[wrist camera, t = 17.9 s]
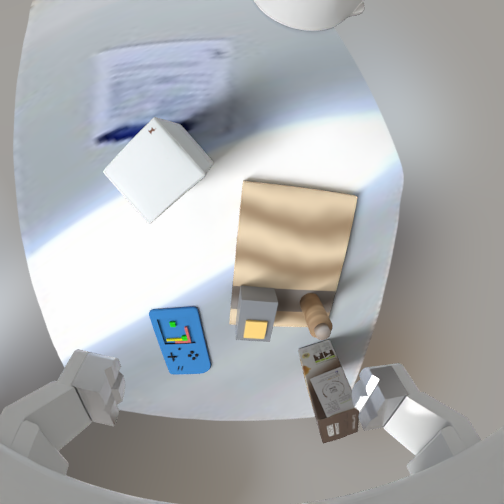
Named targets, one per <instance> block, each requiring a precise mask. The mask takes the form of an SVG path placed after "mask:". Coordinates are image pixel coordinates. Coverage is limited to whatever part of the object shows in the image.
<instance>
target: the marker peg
mask: <svg viewBox="0 0 504 504" xmlns="http://www.w3.org/2000/svg"><path fill="white" fill-rule="evenodd" d="M299 304H300V307H301V310H302V312H303V315H304V318H305V320H306V323H307V326H308V328H309V331H310V334H311V335H312V336H313V337H316V338H318V339H319V340H325V339H327V338H328V337H329V336H330V334H331V330H332V323H331V321H330V319H329V317H328V315H327V313H326V311H325V309H324V307H323V305H322V303H321V301H320V299H319V297H318V295H316V294H315V293H307V294H305V295H304V296H302V298H301V299H300V302H299Z"/></svg>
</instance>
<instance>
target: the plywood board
mask: <svg viewBox="0 0 504 504" xmlns="http://www.w3.org/2000/svg"><path fill="white" fill-rule="evenodd" d="M356 203H357V196H355V195H350V194H344V193H337V192H331V191H324V190H317V189H310V188H303V187H295V186H287V185H279V184H270V183H260V182H251V181H243V186H242V196H241V206H240V215H239V225H238V235H237V246H236V256H235V267H234V277H233V287H232V298H231V311H230V324H234V325H236V316H237V308H238V301H239V293H240V286H241V285H242V286H254V287H266V288H274V289H275V293H276V296H277V300H278V306H277V311H276V315H275V320H274V325H273V326H281V327H308V326H307V323H306V320H305V318H304V315H303V312H302V310H301V307H300V304H299V302H300V299H301V298H302V296H304V295H305V294H307V293H315V294H316V295H318V297H319V299H320V301H321V303H322V305H323V307H324V309H325V311H326V313H327V315H328V317H329V314H330V311H331V308H332V304H333V301H334V297H335V294H336V289H337V286H338V282H339V278H340V274H341V270H342V266H343V262H344V258H345V254H346V250H347V245H348V241H349V237H350V232H351V227H352V223H353V218H354V213H355V208H356Z"/></svg>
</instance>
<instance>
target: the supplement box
mask: <svg viewBox="0 0 504 504" xmlns="http://www.w3.org/2000/svg"><path fill="white" fill-rule="evenodd" d="M212 165H213V161H212V160H211V158H210V157H209V156H208V155H207V154H206V152H205V151H204V150H203V149H202V148H201V147H200V146H199V144H198V143H197V142H196V141H195V140H194V139H193V138H192V137H191V135H190V134H189V133H188V132H187V131H186V130H185V129H184V128H183V127H182V126H181V124H178V123H174V122H171V121H167V120H164V119H160V118H156V117H154V118H153V119H152V120H151V121H150V122H149V123H148V124H147V125H146V126H145V127H144V128H143V129H142V130H141V131H140V132H139V133H138V134H137V135H136V136H135V137H134V138H133V139H132V140H131V141H130V142H129V143H128V144H127V145H126V146H125V148H124V149H123V150H122V151H121V152H120V153H119V154H118V155H117V156H116V157H115V158H114V159H113V160H112V162H111V163H110V164H109V165H108V166H107V167H106V168H105V170H104V171H103V173H104V174H105V175H106V176H107V177H108V178H109V180H110V181H111V182H112V183H113V184H114V185H115V187H116V188H117V189H118V190H119V191H120V192H121V193H122V195H123V196H124V197H125V198H126V199H127V200H128V201H129V202H130V203H131V205H132V206H133V207H134V208H135V209H136V210H137V211H138V212H139V213H140V214H141V216H142V217H143V218H144V219H145V220H146V221H147V222H148V223H149V224H151V223H152V222H153V221H154V220H155V219H156V218H157V217H158V216H160V215H161V214H162V213H163V212H164V211H165V210H166V209H168V208H169V207H170V206H171V205H172V204H173V203H174V202H176V201H177V200H178V199H179V198H180V197H181V196H183V195H184V194H185V193H186V192H187V191H188V190H190V189H191V188H192V187H193V186H194V185H196V184H197V183H198V182H199V181H200V180H202V179H203V178H204V177H205V176H206V173H207V172H208V170H209V169H210V168H211V166H212Z"/></svg>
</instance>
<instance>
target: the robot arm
mask: <svg viewBox="0 0 504 504" xmlns="http://www.w3.org/2000/svg"><path fill="white" fill-rule="evenodd" d="M363 1H364V0H254V2H255V3H256V4H257V6H258V7H259V8H260V9H261V10H262V11H263V12H264V13H265V14H266V15H267V16H269V17H270V18H272V19H273V20H275V21H277V22H279V23H281V24H283V25H286V26H288V27H291V28H295V29H299V30H306V31H321V30H326V29H330V28H333V27H335V26H337V25H338V24H340V23H341V22H342V21H343V20H345V19H346V18H348V17H350V16H356V15H359V14H361V13H362V12H363V11H364V9H365V7H364V3H363ZM120 367H121V365H120V362H119V359H117V358H114V357H110V356H105V355H101V354H97V353H92V352H87V351H83V350H79V349H77V350H76V351H74V353H73V354H72V356H71V358H70V359H69V361H68V363H67V365H66V366H65V368H64V370H63V372H62V373H61V375H60V377H59V379H58V381H57V382H56V381H52V382H50V383H48V384H47V385H45V386H43V387H41V388H40V389H38V390H36V391H34V392H32V393H30V394H29V395H27V396H25V397H23V398H21V399H20V400H18V401H16V402H14V403H12V404H11V405H9V406H7V407H5V408H4V410H3V411H2V413H1V415H0V504H175V503H168V502H161V501H155V500H150V499H145V498H139V497H135V496H130V495H126V494H122V493H118V492H115V491H111V490H108V489H104V488H100V487H97V486H94V485H91V484H88V483H85V482H82V481H79V480H77V479H74V478H71V477H69V476H66V472H67V468H68V465H69V464H68V462H67V461H66V460H65V458H64V457H63V456H62V455H61V454H60V453H59V452H58V451H59V450H60V449H61V448H63V447H64V446H65V445H66V444H67V443H68V442H70V441H71V440H72V439H73V438H74V437H75V436H76V435H78V434H79V433H80V432H81V431H82V430H84V429H85V428H86V427H87V426H88V425H89V424H91V421H93V422H98V423H102V424H106V425H111V426H115V423H116V420H117V417H118V413H119V409H118V407H117V405H118V404H119V403H120V402H122V401H123V397H124V393H125V380H124V376H123V375H122V374H121V373H120V372H119V370H120ZM359 376H360V378H361V380H359V381H358V382H357V383H355V385H354V387H353V389H352V403H353V405H354V408H356V409H357V410H358V411H360V413H359V416H358V418H359V420H360V423H361V425H362V428H363V430H364V431H365V430H370V429H376V428H381V427H384V429H385V430H386V431H387V432H389V433H390V434H391V435H392V436H393V437H394V438H395V439H397V440H398V441H399V442H400V443H401V444H402V445H404V446H405V447H406V448H407V449H408V450H410V451H411V452H412V453H413V454H414V455H416V456H415V457H414V458H413V459H412V460H411V461H410V462H409V463H408V464H407V468H408V470H409V473H410V476H408V477H405V478H402V479H400V480H397V481H394V482H391V483H388V484H385V485H382V486H379V487H375V488H372V489H368V490H365V491H361V492H357V493H353V494H349V495H345V496H340V497H336V498H331V499H325V500H320V501H315V502H307V503H300V504H504V426H503V427H501V428H500V429H498V430H497V431H495V432H494V433H492V434H491V435H489V436H488V437H486V438H485V439H483V440H481V439H480V437H479V435H478V434H477V432H476V430H475V429H474V427H473V426H472V424H471V422H470V421H469V419H468V418H467V417H466V416H464V415H462V414H460V413H459V412H457V411H455V410H454V409H452V408H450V407H448V406H447V405H445V404H443V403H442V402H440V401H438V400H436V399H435V398H433V397H431V396H430V395H428V394H426V393H424V392H420V391H419V389H418V388H417V386H416V385H415V383H414V382H413V380H412V378H411V377H410V375H409V374H408V372H407V371H406V369H405V368H404V366H403V365H402V364H400V363H398V364H390V365H382V366H374V367H366V368H364V369H363V370H362V371H361V373H360V375H359Z"/></svg>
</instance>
